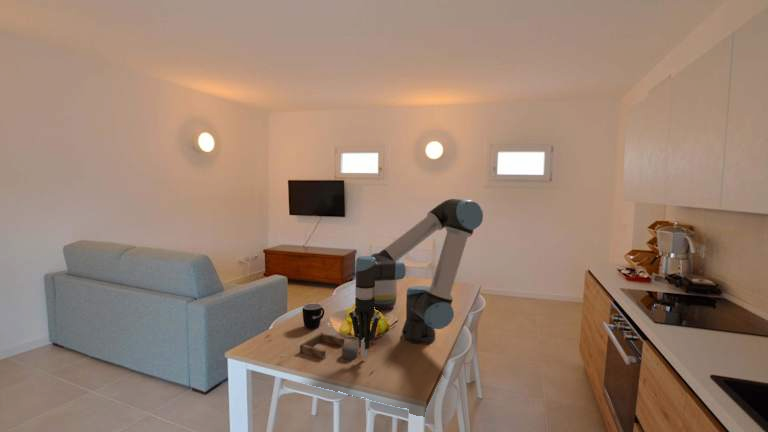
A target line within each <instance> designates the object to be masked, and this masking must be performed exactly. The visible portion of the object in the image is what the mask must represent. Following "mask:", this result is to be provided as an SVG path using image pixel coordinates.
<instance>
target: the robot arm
mask: <svg viewBox="0 0 768 432" xmlns="http://www.w3.org/2000/svg"><path fill="white" fill-rule="evenodd" d="M483 213H484V212H483V209H482V207H481V206H480V205H479V203H477V202H476V201H474V200H471V199H467V198H466V199H459V198H449V199H447V200H445V201H442V202H441V203H439V204H437V205H436V206H435V207H434V208H433V209H431V210H430V211H429V212H427V213H426V217H424V218H423V219H422V220H420V221H419V222H418V223H416V224H415V225H414V226H413V227H411V228H410V229H409V230H407V231H406V232H405V233H403V234H402V235H401V236H399V237H398V238H397V239H395V240H394V241H392V242H391V243H390V244H389V245H388V246H386V247H385V248H383V249H382V250H381V251H379V252H376V253H372V254H371V255H369V256H367V255H362V256H358V257H357V258H356V260H355V261H356V262H355V269H354V270H355V290H354V291H355V293H354V294H355V296H354V297H355V300H354V301H355V302H354V303H355V304H354V305H355V306H354V310H352V311H351V312H349V313H348V314H349V316H350V319H351V323H352V328H353V334H354V335H353V336H354V338H357V339H358V347H359V348H360V358H363V359H364V358H366V357H367V356H368V352H369V351H368V350H369V348H370V342H371V341H373V340H374V339H375V335H376V332H377V329H378V328H377V327H378V325H379V324H378V323H379V321H380V320H381V316H380V315H378V314H376V310H375V308H374V307H375V298H374V296H375V281H386V280H397V281H398V280H402V279H404V278H405V276H406V265H405V262H404V261H403V260H400V259H402V258H403V257H404V256H405V255H408V253H410V252H411V251H412V250H413V249H414V248H416V247H417V246H418V245H420V244H421V243H423V242H424V241H425V240H426V239H428V238H429V237H431V235H432V234H435V232H436V231H442V230H443V229H445V230H446V236H445V239H444V240H443V241H444V242H443V244H442V249H441V252H440V254H439V258H438V262H437V264H436V268H435V271H434V274H433V276H432V277H433V278H432V281H431V283H430V286H427V285H414V286H410V287H408V288H406V294H405V295H406V303H405V304H406V305H405V306H406V309H405V310H406V311H405V312H406V313H405V319H406V320H405V321H404V325H403V327H402V330H401V338H402V340H404V341H406V342H407V343H411V344H417V345H419V344H420V345H422V344H429V343H432V342H433V341H435V340H436V331H435V330H441V329H445V328H446V327H448V326H449V325H450V324H451V323H452V322H453V318H454V315H455V311H454V309H453V306H452V304H453V300H454V297H453V296H452V290H453V286H454V283H455V280H456V277H457V273H458V269H459V267H460V264H461V260H462V257H463V253H464V250H465V247H466V245H467V241H468V239H469V238H470V237H473V233H474V231H475V229H477V228H478V227H480V226H481V225H482V223H483V218H484V214H483ZM371 322H372V323H371Z"/></svg>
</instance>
